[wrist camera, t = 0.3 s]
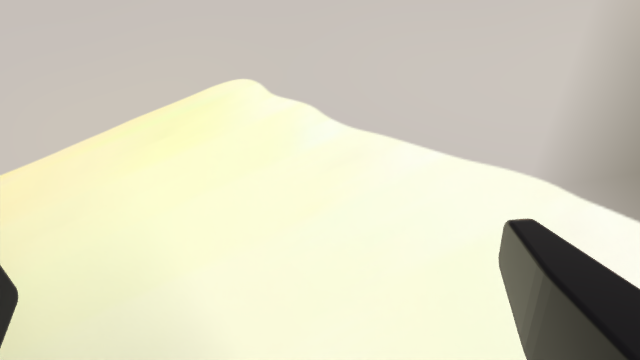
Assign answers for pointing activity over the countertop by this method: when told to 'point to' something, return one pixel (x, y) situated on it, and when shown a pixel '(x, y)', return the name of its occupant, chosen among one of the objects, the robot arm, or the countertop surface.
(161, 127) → the countertop surface
